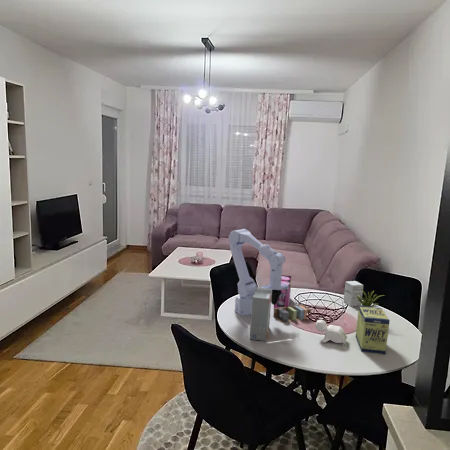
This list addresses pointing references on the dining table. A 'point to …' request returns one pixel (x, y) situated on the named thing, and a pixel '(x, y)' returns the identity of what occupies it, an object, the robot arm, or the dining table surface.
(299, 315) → the blue book
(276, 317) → the shelf
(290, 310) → the olive book
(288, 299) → the gum box
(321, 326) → the white animal figurine
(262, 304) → the hard drive box
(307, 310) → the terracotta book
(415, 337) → the dining table surface
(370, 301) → the house plant
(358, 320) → the protein box
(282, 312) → the bookend
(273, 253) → the robot arm
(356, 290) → the supplement box
